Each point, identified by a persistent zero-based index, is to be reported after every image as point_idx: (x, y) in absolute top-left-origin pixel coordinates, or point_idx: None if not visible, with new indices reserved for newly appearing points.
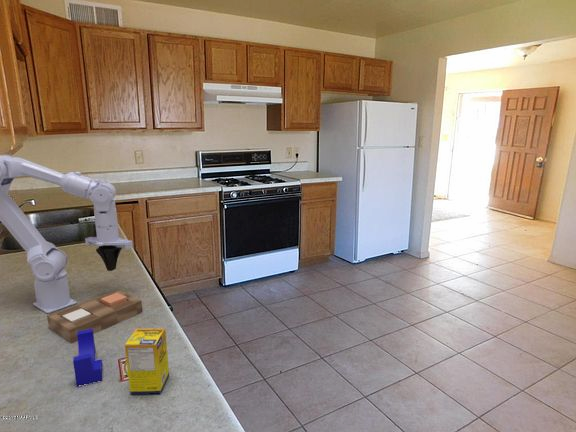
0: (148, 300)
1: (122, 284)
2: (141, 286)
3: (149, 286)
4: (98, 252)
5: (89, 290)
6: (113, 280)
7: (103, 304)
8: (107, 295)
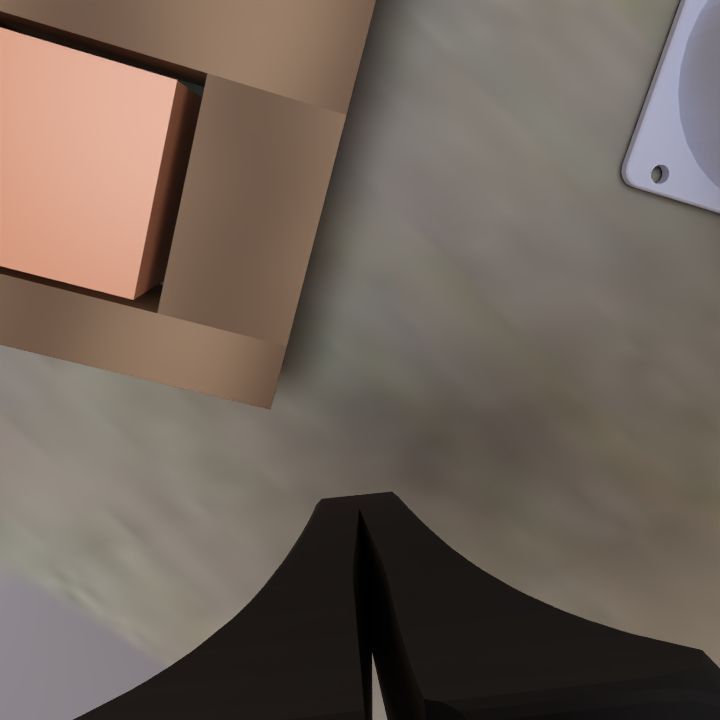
0: (20, 481)
1: None
2: None
3: None
4: (607, 649)
5: (717, 442)
6: None
7: (93, 35)
8: (256, 252)
